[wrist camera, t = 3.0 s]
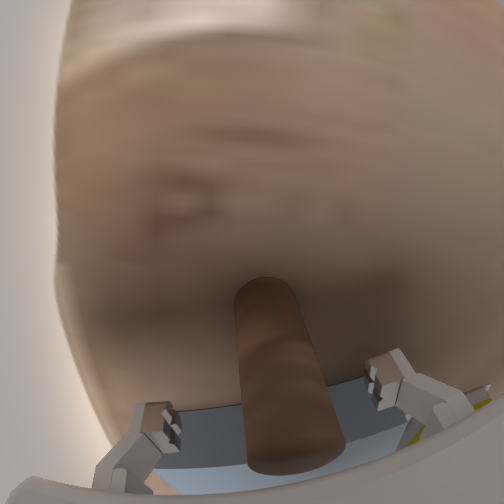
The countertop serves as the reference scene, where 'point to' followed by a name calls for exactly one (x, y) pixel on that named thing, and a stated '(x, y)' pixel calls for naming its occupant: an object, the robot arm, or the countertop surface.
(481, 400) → the emergency button
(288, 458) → the peg
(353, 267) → the countertop surface
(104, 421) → the countertop surface
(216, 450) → the socket block
